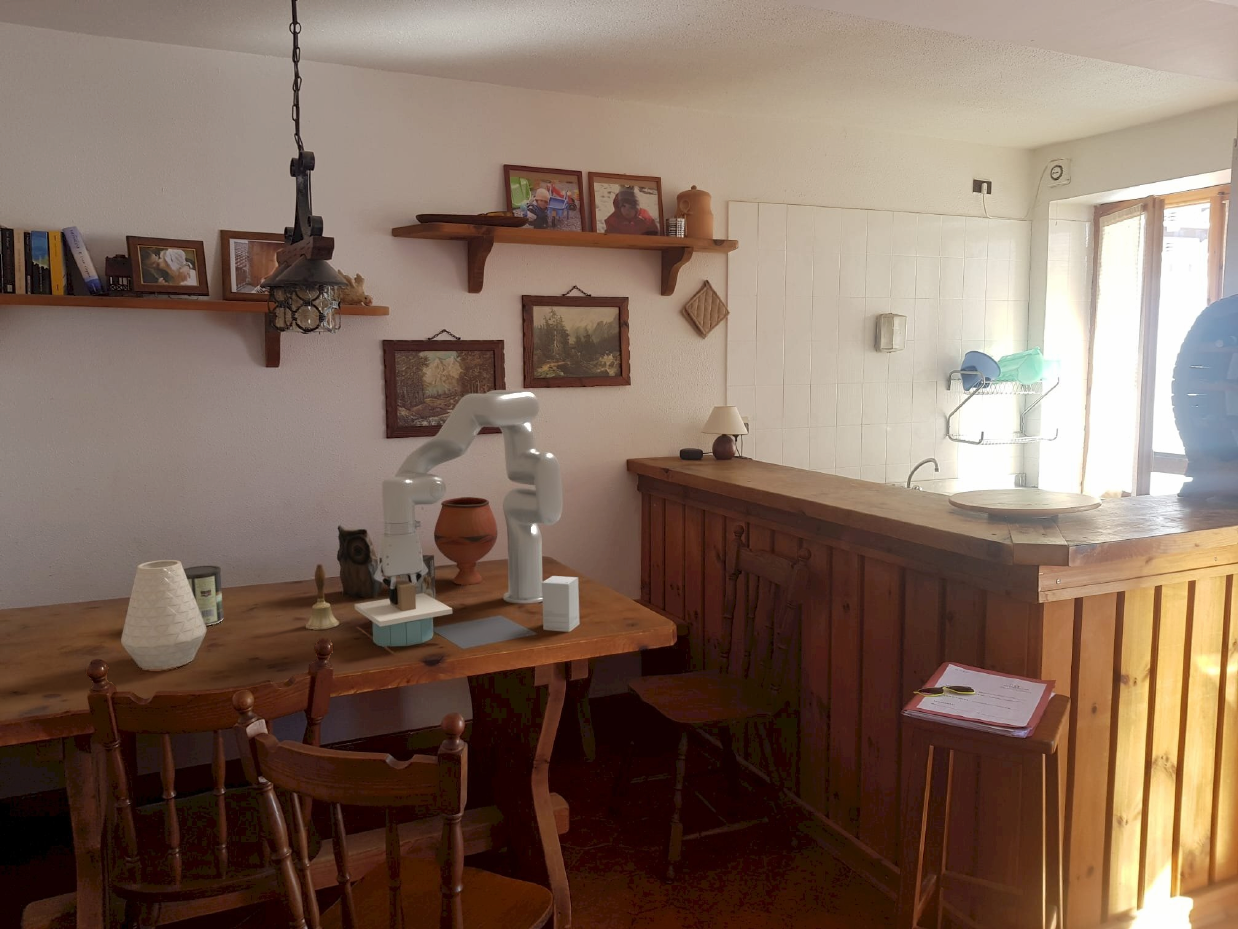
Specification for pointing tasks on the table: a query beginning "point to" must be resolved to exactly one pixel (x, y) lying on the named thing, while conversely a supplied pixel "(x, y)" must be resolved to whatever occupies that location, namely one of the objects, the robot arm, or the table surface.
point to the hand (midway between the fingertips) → (402, 601)
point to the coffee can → (207, 591)
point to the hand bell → (321, 606)
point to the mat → (482, 631)
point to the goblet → (465, 535)
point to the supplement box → (560, 603)
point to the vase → (162, 617)
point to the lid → (403, 606)
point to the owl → (357, 563)
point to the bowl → (403, 633)
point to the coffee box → (426, 578)
